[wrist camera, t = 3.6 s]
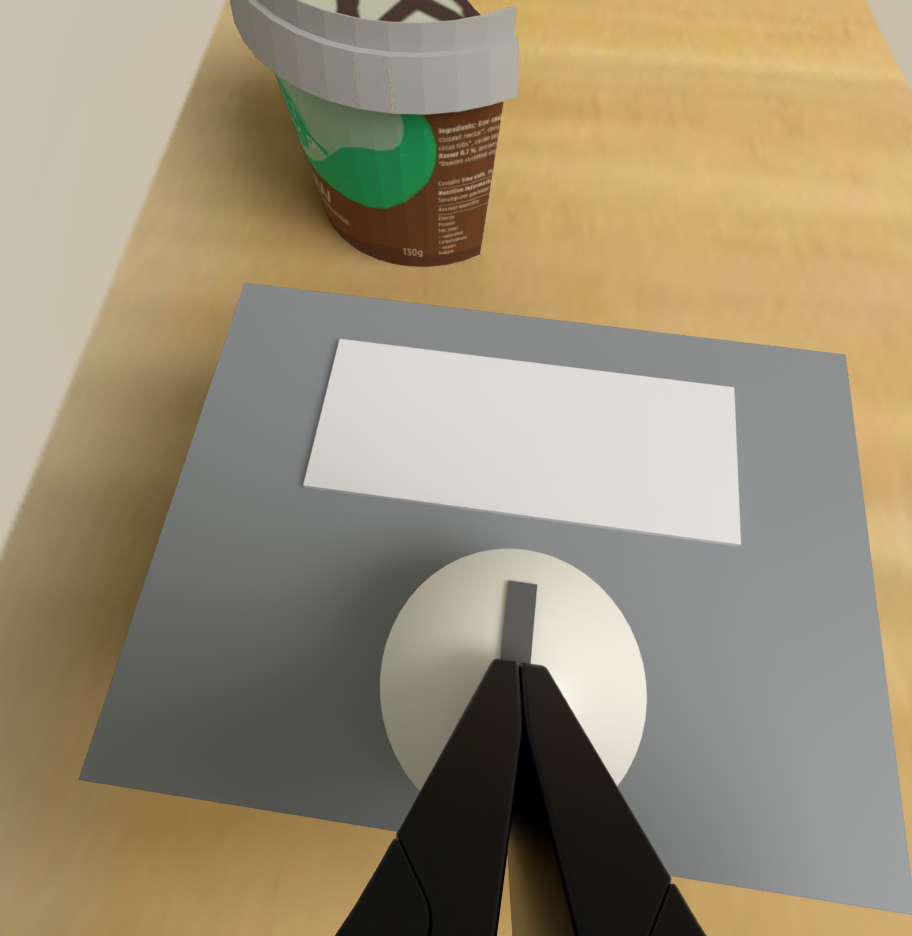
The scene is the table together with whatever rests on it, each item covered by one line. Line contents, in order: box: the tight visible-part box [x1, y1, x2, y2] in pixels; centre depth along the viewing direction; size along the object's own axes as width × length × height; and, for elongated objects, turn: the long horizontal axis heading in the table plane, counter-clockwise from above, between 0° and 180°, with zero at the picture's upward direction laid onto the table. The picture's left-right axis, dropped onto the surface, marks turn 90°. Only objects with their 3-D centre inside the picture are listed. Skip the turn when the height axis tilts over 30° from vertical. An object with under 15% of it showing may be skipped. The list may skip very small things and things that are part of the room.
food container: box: [230, 0, 519, 267], centre depth 20 cm, size 12×6×10 cm, turn 29°
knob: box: [380, 549, 647, 791], centre depth 12 cm, size 4×4×6 cm
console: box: [79, 283, 912, 915], centre depth 16 cm, size 12×16×7 cm
